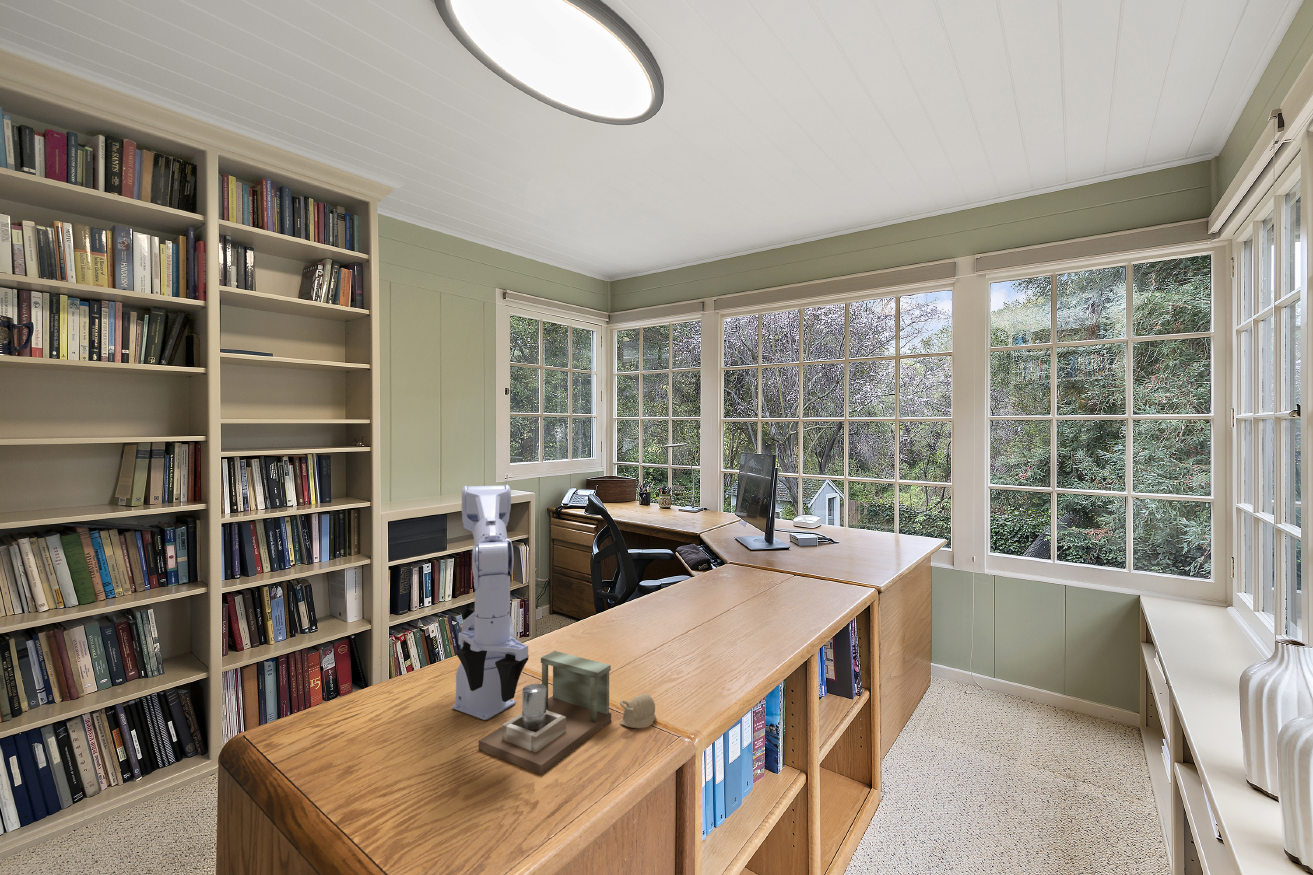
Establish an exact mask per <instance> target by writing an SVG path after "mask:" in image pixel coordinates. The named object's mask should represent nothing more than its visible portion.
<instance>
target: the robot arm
mask: <svg viewBox="0 0 1313 875" xmlns="http://www.w3.org/2000/svg"><path fill="white" fill-rule="evenodd" d="M511 492H512V491H511V487H510V486H509V484H503V485H469V486H468V485H464V486H462V488H461V515H462V516H461V520H462V524H463V529H466V530H468V531H470V532H471V534H472V537H473V541H474V542H473V545H474V546H472V551H471V552H472V553H471V554H472V557H471V558H472V559H471V564H472V568H471V569H472V576H473V586H474V611H473V612H472V613H471V614H470V615H468V617H466V618H465V619H464V620H463V623H462V624H461V632H459V633H458V645H460V649H457V650H456V656H457V658H458V659H459V661H460V664H459V666H458V667H457V670H456V674H455V704H453V705H452V706H451V708H452V709H453V710H456V711H459V712H462V713H464V714H467V715H470V716H473V717H475V718H477V719H480V720H483V721H487V720H489V719H491V718H493V717H495V716H496V715H498V714H500V713H501V712H504V711H506V710H507V709H508V708H510V707H512V706H514V705H515V704H516V703H517V700H516V699H515V700H514V698H515V695H516V690H517V686H518V683H519V680H520V676H521V675H522V672H523V670H524V668H525V666H526V663H528V660H529V658H530V657H529V644H524V643H522V642H521V641H519V640H517V639H516V638H515V632H514V627H513V618H512V617H511V575H513V571H514V561H515V560H514V559H515V558H514V547H513V543H512V540H511V539H510V538H508V533H507V526H508V525H509V524H508V523H509V522H510V512H511V510H512V509H511V507H512V493H511ZM509 573H510V574H509Z"/></svg>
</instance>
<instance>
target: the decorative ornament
mask: <svg viewBox="0 0 1313 875" xmlns="http://www.w3.org/2000/svg"><path fill="white" fill-rule="evenodd" d="M619 705H620V707H622V708H623V710H624V711H623V714H622V715H623V716H622V720H621V722H619V725H622V726H626V727H628V728H633V729H645V728H649V727H650V726H652V725H653V723H654V722H655V720H656V718H657V714H656V713H655V712H656V703H655V700H654V699H653V697H652V696H651V695H650V694H649V693H642V694H639V695H636V696H635V697H633V698H632V699H631V700H630V701H627V700H623V699H621V700H620V701H619Z"/></svg>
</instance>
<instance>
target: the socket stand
mask: <svg viewBox="0 0 1313 875" xmlns="http://www.w3.org/2000/svg"><path fill="white" fill-rule="evenodd" d="M540 663H541V684H543V685H545V686H546V726H545V727H543V728H542V729H540V730H539V731H537V732H533V731H530V730H527V729H524V728H522V712H521V713H519V714H518V715H516V716H514V717H513V718H511V719H509V720H507V721H506V722H504V723H503V724H501V725H502V726H500V727H498V728H497V729H495V730H494V731H492V732H490V733H489V734H487V735H485V736H483V737H482V738H481V739H479V740H478V750H480V751H482V752H484V753H487V754H489V755H491V756H495V757H497V758H499V759H500V760H501V759H502V760H504V761H506V762H509V763H512V764H514V765H516V766H519V767H521V768H524V769H525V770H529V771H531V772H533V773H536V774H538V775H541V776H542V775H543V774H544V773H545V774H546V772H547V771H549V770H550V769H551V768H552V767H553V766H555V765H556V764H558V763H559V762H560V761H561V760H563V759H564V758H565V757H568V755H569V754H570V753H572V752H573V751H575V750H576V749H577V748H578V747H580V746H581V745H583V744H584V743H585V742H586V741H587V740H589V739H590V738H591V737H592V736H594V735H595V734H597V733H598V732H600V731H601V729H603V728H605V727H606V726H607V725H609V724H610V723H611V722H612V712H610V672H611V667H612V666H611V664H608V663H604V662H600V661H595V660H592V659H590V658H589V659H588V658H584V657H581V656H576V655H573V654H568V653H565V652H561V651H558V650H557V651H556V650H553V651H552V652H550V653H547V654H545V655H543V656H541V657H540ZM549 666H551V667H552V696H550V697H549Z"/></svg>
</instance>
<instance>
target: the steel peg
mask: <svg viewBox="0 0 1313 875" xmlns="http://www.w3.org/2000/svg"><path fill="white" fill-rule="evenodd" d="M521 707H522V711H521V713H522V728H524V729H527V730H530V731H533V732H537V731H539V730H540V729H542V728H543V727H545V726H546V686H545V685H543V684H542V683H531V684H527V685H526V686H524V687H523V688H522V706H521Z"/></svg>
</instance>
